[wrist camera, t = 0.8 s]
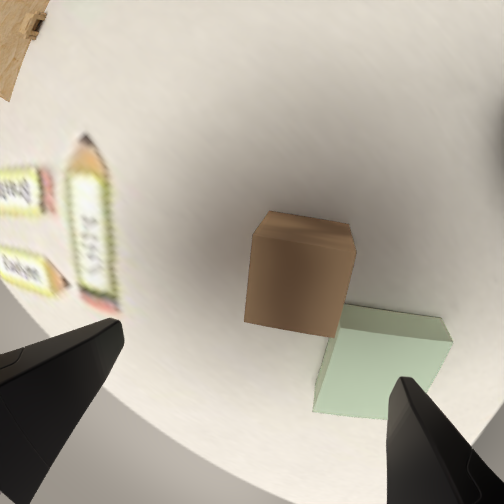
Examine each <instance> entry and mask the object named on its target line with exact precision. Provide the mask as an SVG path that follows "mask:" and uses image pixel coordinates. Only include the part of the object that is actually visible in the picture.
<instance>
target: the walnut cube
mask: <svg viewBox="0 0 504 504" xmlns="http://www.w3.org/2000/svg"><path fill="white" fill-rule="evenodd" d="M356 253H357V252H356V249H355V245H354V241H353V237H352V234H351V230H350V227H349V224H346V223H340V222H335V221H329V220H323V219H317V218H311V217H305V216H299V215H293V214H286V213H280V212H273V211H269V212H268V213H267V215H266V216H265V218H264V219H263V221H262V222H261V223H260V225H259V226H258V228H257V229H256V231H255V232H254V234H253V236H252V246H251V256H250V266H249V276H248V286H247V295H246V305H245V315H244V322H247V323H252V324H257V325H262V326H267V327H272V328H278V329H283V330H289V331H294V332H300V333H306V334H312V335H318V336H324V337H330V338H335V334H336V331H337V327H338V324H339V320H340V317H341V313H342V309H343V306H344V302H345V298H346V294H347V290H348V286H349V282H350V278H351V274H352V270H353V266H354V261H355V257H356Z"/></svg>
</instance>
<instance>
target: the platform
mask: <svg viewBox="0 0 504 504" xmlns="http://www.w3.org/2000/svg"><path fill="white" fill-rule="evenodd" d="M452 344H453V340H452V338H451V336H450V334H449V332H448V330H447V328H446V326H445V324H444V322H443V320H442V318H437V317H429V316H422V315H415V314H408V313H401V312H394V311H387V310H380V309H374V308H367V307H361V306H355V305H348V304H344V306H343V309H342V313H341V317H340V320H339V324H338V327H337V331H336V334H335V338H329V342H328V345H327V348H326V352H325V355H324V359H323V362H322V365H321V368H320V372H319V375H318V378H317V381H316V384H315V392H314V403H313V412H316V413H323V414H331V415H339V416H348V417H358V418H369V419H382V420H388V402H389V396H390V394H391V392H392V390H393V388H394V386H395V384H396V381H397V380H398V378H399V377H401V376H406V377H412V378H413V379H414V380H415V381H416V382H417V383H418V384H419V386H420V387H421V388H422V389H423V390H424V391H425V392H426V393H427V391H428V389H429V388H430V386H431V384H432V382H433V381H434V379H435V377H436V375H437V373H438V372H439V370H440V368H441V366H442V364H443V362H444V360H445V358H446V356H447V354H448V352H449V350H450V348H451V346H452Z"/></svg>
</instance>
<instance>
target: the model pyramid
mask: <svg viewBox="0 0 504 504" xmlns="http://www.w3.org/2000/svg"><path fill="white" fill-rule="evenodd" d="M49 1H50V0H0V97H1V98H3V99H5V100H6V101H8V102H10V98H11V95H12V91H13V88H14V85H15V82H16V79H17V76H18V73H19V70H20V67H21V65H22V62H23V59H24V56H25V54H26V51H27V49H28V46H29V44H30V41H31V40H36V36H37V35H38V33H39V32H36V31H35V30H36V28H37V25H38V23H39V21H40V20H45V18H46V15H47V13H44V11H45V9H46V7H47V5H48V3H49Z"/></svg>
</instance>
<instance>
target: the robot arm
mask: <svg viewBox="0 0 504 504" xmlns="http://www.w3.org/2000/svg"><path fill="white" fill-rule="evenodd" d="M123 346H124V334H123V329H122V324H121V322H120V321H119V320H116V319H113V318H107V319H104V320H101V321H98V322H96V323H93V324H90V325H87V326H84V327H81V328H78V329H75V330H72V331H70V332H67V333H64V334H61V335H58V336H55V337H52V338H49V339H46V340H43V341H40V342H37V343H34V344H32V345H28V346H25V348H24V347H22V348H20V349H16V350H13V351H10V352H7V353H4V354H0V494H1V493H4V494H5V495H6V496H7V497H8V498H9V499H10V500H12V501H13V502H14V503H15V504H30V502H31V500H32V499H33V497H34V495H35V493H36V492H37V490H38V488H39V486H40V485H41V483H42V481H43V480H44V478H45V476H46V474H47V473H48V471H49V469H50V467H51V466H52V464H53V462H54V461H55V459H56V457H57V456H58V454H59V452H60V451H61V449H62V448H63V446H64V444H65V443H66V441H67V439H68V438H69V436H70V435H71V433H72V432H73V429H74V428H75V427H76V425H77V424H78V422H79V420H80V419H81V417H82V416H83V414H84V413H85V411H86V409H87V408H88V406H89V405H90V403H91V402H92V400H93V399H94V397H95V396H96V394H97V393H98V391H99V390H100V388H101V387H102V385H103V383H104V382H105V380H106V378H107V377H108V375H109V373H110V371H111V369H112V367H113V365H114V363H115V361H116V359H117V357H118V356H119V354H120V352H121V350H122V348H123ZM386 453H387V504H504V482H503V481H502V480H501V479H500V478H499V477H498V476H497V475H496V474H495V473H494V472H493V471H492V470H491V469H490V468H489V467H488V466H487V465H486V464H485V462H484V461H483V460H482V459H481V458H480V457H479V455H478V454H477V453H476V452H475V450H474V449H472V447H471V446H470V444H469V443H468V442H467V441H466V440H465V438H464V437H463V436H462V435H461V434H460V432H459V431H458V430H457V429H456V428H455V426H454V425H453V424H452V423H451V422H450V420H449V419H448V418H447V417H446V416H445V415H444V413H443V412H442V411H441V410H440V409H439V408H438V406H437V405H436V404H435V403H434V402H433V401H432V399H431V398H430V397H429V396H428V395H427V394H426V392H425V391H424V390H423V389H422V388H421V387H420V386H419V384H418V383H417V382H416V381H415V380H414V379H413V378H412V377H406V376H401V377H399V378H398V380H397V381H396V384H395V386H394V388H393V390H392V392H391V394H390V396H389V402H388V422H387V438H386Z"/></svg>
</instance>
